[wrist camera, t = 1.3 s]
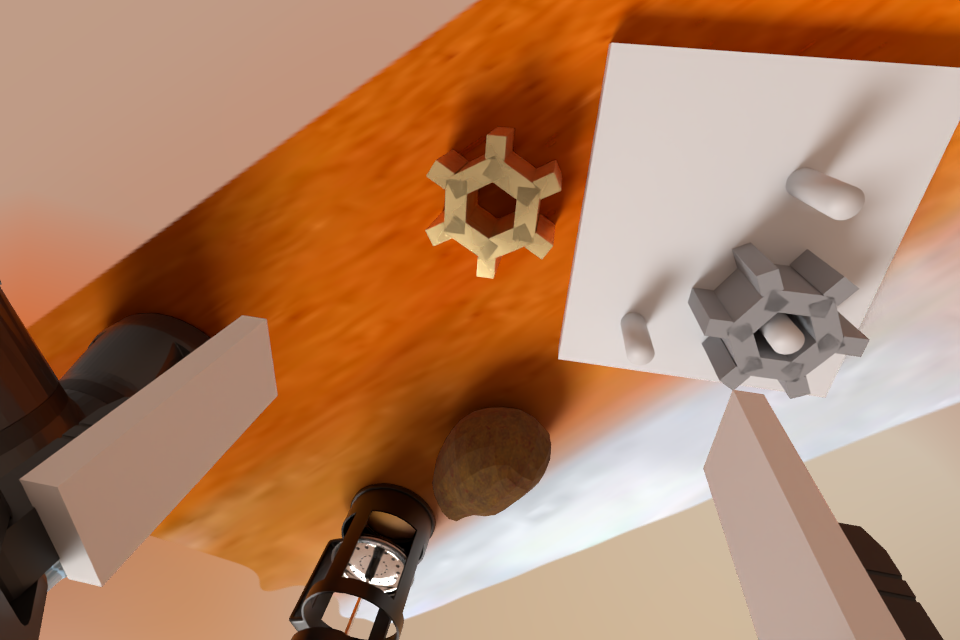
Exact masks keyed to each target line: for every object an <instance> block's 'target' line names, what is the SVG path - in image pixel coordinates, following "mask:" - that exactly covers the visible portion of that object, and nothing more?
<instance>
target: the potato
mask: <svg viewBox="0 0 960 640" xmlns="http://www.w3.org/2000/svg"><path fill="white" fill-rule="evenodd" d="M550 454H551V442H550V436H549V433H548V432H547V431H546V430H545V429H544V428H543V426H542V425H541V424H540V423H539V422H538V421H537V420H536V419H535V417H533V416H531V415H529V414H528V413H526V412H524V411H522V410H520V409H515V408H506V407H493V408H485V409H481V410H476V411H474V412H472V413H470V414H468V415H467V416H465V417H464V418H462V419H461V420H460V421H459V422H458V423H457V424H456V426H455V427H454V428H453V429H452V431H451V432H450V434H449V435H448V437H447V438H446V440H445V442H444V444H443V446H442V448H441V450H440V453H439V455H438V457H437V460H436V466H435V471H434V477H433V482H432V484H433V490H434V495H435V497H436V500H437V502H438V504H439V506H440V508H441V510H442V512H443V513H444V514H445V515H446V516H447V517H448V518H449V519H451V520H454V521H458V520H460V519H462V518H464V517H467V516H471V515H479V516H490V515H496V514H498V513H499V512H501V511H503V510H505V509H506V508H507V507H509V506H510V505H511V504H513V503H514V502H516V501H517V500H519V499H520V498H521V497H523V496H524V495H525V494H526V493H528V492H529V491H530V490H531V489H532V488H533V487H534V486H536V485H537V484H538V483H539V481H540V480H541V478H542V476H543V475H544V473H545V471H546V468H547V466H548V463H549V461H550Z"/></svg>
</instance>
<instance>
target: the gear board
mask: <svg viewBox="0 0 960 640" xmlns="http://www.w3.org/2000/svg"><path fill="white" fill-rule="evenodd" d="M959 120H960V68H957V67H943V66H929V65H915V64H901V63H887V62H873V61H860V60H846V59H832V58H818V57H804V56H790V55H776V54H763V53H749V52H735V51H721V50H707V49H693V48H679V47H665V46H652V45H638V44H624V43H610V44H609V49H608V55H607V61H606V67H605V73H604V79H603V85H602V91H601V97H600V103H599V109H598V115H597V121H596V127H595V133H594V138H593V144H592V150H591V156H590V162H589V168H588V174H587V180H586V186H585V192H584V198H583V204H582V210H581V216H580V222H579V228H578V234H577V240H576V246H575V252H574V258H573V264H572V270H571V276H570V282H569V288H568V294H567V300H566V306H565V312H564V318H563V324H562V330H561V336H560V342H559V352H558V359H561V360H568V361H575V362H582V363H589V364H596V365H603V366H610V367H617V368H624V369H631V370H637V371H644V372H651V373H658V374H665V375H672V376H679V377H686V378H693V379H700V380H707V381H713V382H720V383H723V384H725V385H726V386H728V387H729V388H730V389H732V390H734V389H736V388H737V387H738V386H739V385H741V386H748V387H755V388H762V389H769V390H776V391H783V392H786V393H787V395H788V396H789V398H790V399H792V398H796V397H800V396H804V395H810V396H817V397H824V398H825V397H826V395H827V393H828V391H829V389H830V387H831V385H832V383H833V381H834V379H835V377H836V375H837V373H838V371H839V368H840V366H841V364H842V362H843V360H844V358H845V356H846V355H851V356H858V357H861V356H862V354H863V352H864V350H865V348H866V346H867V344H868V342H869V339H868V338H867V337H866V336H865V335H864V334H863V333H861V332H860V331H859V330H858V329H859V327H860V325H861V323H862V321H863V319H864V317H865V315H866V313H867V311H868V308H869V306H870V304H871V302H872V300H873V298H874V296H875V294H876V292H877V290H878V288H879V286H880V284H881V282H882V280H883V277H884V275H885V273H886V271H887V269H888V267H889V265H890V263H891V261H892V259H893V257H894V255H895V253H896V251H897V249H898V246H899V244H900V242H901V240H902V238H903V236H904V234H905V232H906V230H907V228H908V226H909V224H910V222H911V220H912V218H913V215H914V213H915V211H916V209H917V207H918V205H919V203H920V201H921V199H922V197H923V195H924V193H925V191H926V189H927V187H928V184H929V182H930V180H931V178H932V176H933V174H934V172H935V170H936V168H937V166H938V164H939V162H940V160H941V158H942V156H943V153H944V151H945V149H946V147H947V145H948V143H949V141H950V139H951V137H952V135H953V133H954V131H955V129H956V127H957V125H958V122H959Z"/></svg>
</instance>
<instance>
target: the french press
mask: <svg viewBox="0 0 960 640" xmlns="http://www.w3.org/2000/svg"><path fill="white" fill-rule="evenodd" d="M372 511H379V512H384V513H389V514H391V515H394V516H397V517H399V518H400V519H402V520H404V521H405V522H407V523H408V524H410V525H411V526H412V527H413V528H414V529H415V530H416V532H415V535H414V538H411V539H408V540H393V539H389V538H386V537H383V536H381V535H379V534H377V533H376V532H374V531H373V530H372V529H371V528H370V527H369V526H368V525H367V521H368V519H369V517H370V515H371V513H372ZM434 528H435V519H434V515H433V513H432V510H431V509H430V507H429V506H428V504H427V503H426V502H425V501H424V500H423V499H422V498H421V497H419V496H418V495H417V494H415V493H414V492H412V491H410V490H408V489H406V488H403V487H400V486H397V485H392V484H374V485H370V486H367V487H365V488H363V489H361V490H360V491H359V492H358V493H357V494H356V495H355V497H354V498H353V500H352V503H351V509H350V511H349V513H348V515H347V517H346V519H345V521H344V523H343V526H342V538H340V539H333V540H330V541H329V542H328V544H327V546H326V548H325V550H324V551H323V553H322V555H321V557H320V559H319V561H318V563H317V565H316V567H315V569H314V571H313V573H312V575H311V577H310V579H309V581H308V583H307V585H306V586H305V588H304V591H303V592H302V595H301V596H300V598H299V600H298V602H297V604H296V606H295V608H294V610H293V612H292V614H291V616H290V618H289V621H290V622H291V624H292V625H293V626H294V627H295V629H296V630H297V631H298V632H297V633H296V634H294V636H293V637H292V639H291V640H364V639H358V638H354V637H350V636H348V634H349V631H350V629H351V626H352V624H353V621H354V619H355V616H356V614H357V611H358V608H359V606H360V603H361V601H362V599H365V600H367V601H369V602H371V603H373V604H374V605H376V606H377V607H379V611H378V614H377V616H376V619H375V622H374V625H373V628H372V631H371V633H370V636H369V639H368V640H399V637H400V634H401V631H402V628H403V623H404V618H403V609H404V606H405V603H406V600H407V597H408V593H409V590H410V587H411V586H412V584H413V581H414V574H415V571H416V568H417V564H419V563H420V561H421V560H422V559H423V557H424V554H425V551H426V548H427V545H428V541H429V539H430V538H431V536H432V534H433V532H434ZM334 592H337V593H346V594H350V595H354V596H357V597H359V598H358V600H357V603H356V605H355V608H354V610H353V613H352V615H351V618H350V620H349V623H348V625H347V628H346V630H345V633H344V632H342V631H339V630H336V629H332V628H331V627H330V626H328V625H327V624H326V623H324V622H323V621H322V620H321V619H322V617H323V614H324V612H325V610H326V608H327V606H328V603H329V601H330V599H331V597H332V595H333V593H334ZM391 620H392V621H393V623H394V625H395V627H396V630H397V632H396V633H395V634H394V635H392V636H391V637H388V638H386V635H387V631H388V629H389V626H390V623H391Z"/></svg>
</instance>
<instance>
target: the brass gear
mask: <svg viewBox="0 0 960 640" xmlns="http://www.w3.org/2000/svg"><path fill="white" fill-rule="evenodd" d="M514 131H515V128H508V127H496V128H495V129H494V130H492V131H491V132H490V133H488V134H487V138H486V152H485V154H484V155H482V156H480V157H478V158H476V159H474V160H472V161H470V162H468V160H467V159H466V158H464V157H463V156H461V155H460V154H459V153H457V152H456V151H455V150H453V149H452V150H451V151H449V152H448V153H446V154H445V155H443V156H442V157H440V158H439V159H437V160H436V161H435V163H434V164H433V166H432V168H431V169H430V171H429V173H428V174H427V177H428V178H430V179H431V180H432V181H434V182H435V183H436V184H438V185H439V186H441V187H442V188H443V189H445V188H446V191H445V211H443V212H442V213H441V214H440V215H439V216H438V217H437V218H436V219H435V220H434V221H433V222H432V223H431V225H430V226H429V227H428V228H427V229H426V230H425V231H426V233H427V235H428V237H429V239H430V240H431V242H432V244H433V246H435V245H437V244H440V243H442V242H444V241H447V240H449V239H451V238H453V239H455V240H456V241H458V242H459V243H460V244H462V245H463V246H465V247H466V248H467V249H469V250H470V251H472V252H473V253H475V254H476V255H477V256H478V262H477V276H478V277H486V278H494V276H495V274H496V271H497V268H498V266H499V263H500V260H501V257H502V255H504V254H507V253H509V252H512V251H514V250H517V249H519V248H522V247H524V246H525V248H527V249H528V250H529V251H531V252H532V253H534V254H535V255H536V256H538V257H539V258H541V259H543V258H544V256H545V255H546V254H547V253H548V251H549V250H550V249H551V248H552V247H553V243H554V233H555V224H554V223H553V222H551V221H550V220H549V219H547V218H546V217H544V216H543V215H542V214H539V211H540V203H541V199H543V198H545V197H548V196H550V195H552V194H554V193H557V192H559V191H561V187H562V173H561V171H560V168H559V166H558V163H557V161H556V160H553V161H551V162H549V163H547V164H545V165H543V166H540V167H538V168H535V167H534V166H533V165H531V164H530V163H529V162H527V161H526V160H525V159H523V158H522V157H521V156H519V155H518V154H517V153H515V152H514V151H513V141H514ZM492 182H493V183H495V184H496V185H497V186H499V187H500V188H501V189H503V190H504V191H506V192H507V193H508V194H510V195H511V196H512V197H514V198H515V199H516V200H517V201H516V210H515V212H513V213H510V214H508V215H506V216H503V217H501V218H499V219H498V218H496V217H495V216H493V215H492V214H491V213H489V212H488V211H486V210H485V209H484V208H482V207H481V206H480V205H478V195H479V188H481V187H483V186H486V185H488V184H490V183H492Z"/></svg>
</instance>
